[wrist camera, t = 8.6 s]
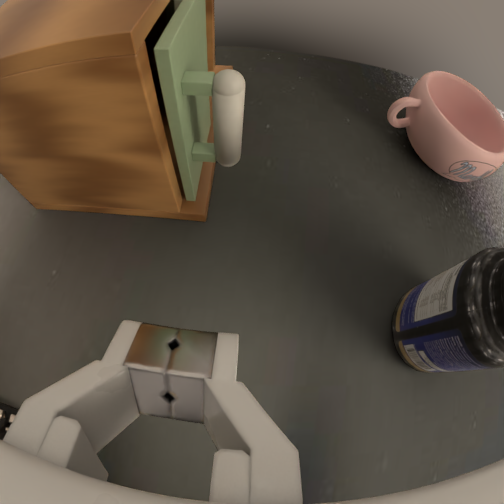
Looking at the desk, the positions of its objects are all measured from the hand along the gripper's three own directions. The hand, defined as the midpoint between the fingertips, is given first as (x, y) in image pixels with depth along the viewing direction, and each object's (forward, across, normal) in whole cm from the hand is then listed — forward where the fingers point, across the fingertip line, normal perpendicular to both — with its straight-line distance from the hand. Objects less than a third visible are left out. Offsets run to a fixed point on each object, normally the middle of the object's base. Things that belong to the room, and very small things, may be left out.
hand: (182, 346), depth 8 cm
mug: (+20, -17, -5) cm, 27 cm away
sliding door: (+15, +1, -2) cm, 15 cm away
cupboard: (+19, +9, -4) cm, 21 cm away
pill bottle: (+9, -14, +6) cm, 18 cm away
